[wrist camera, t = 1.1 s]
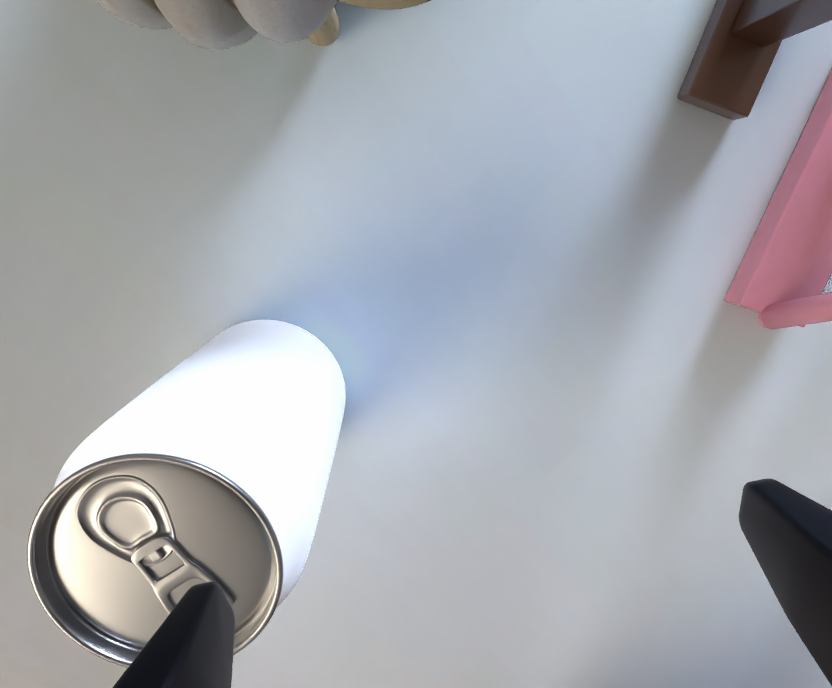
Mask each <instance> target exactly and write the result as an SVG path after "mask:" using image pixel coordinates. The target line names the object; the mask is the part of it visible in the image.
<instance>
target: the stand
mask: <svg viewBox="0 0 832 688" xmlns="http://www.w3.org/2000/svg"><path fill="white" fill-rule="evenodd" d="M830 20H832V0H717V2H716V4H715V7H714V9H713V12H712V14H711V16H710V19H709V21H708V24H707V26H706V29H705V31H704V33H703V36H702V38H701V41H700V43H699V46H698V48H697V50H696V53H695V55H694V58H693V60H692V62H691V65H690V67H689V70H688V72H687V75H686V77H685V79H684V82H683V84H682V87H681V89H680V92H679V94H678V97H677V98H678V99H679V100H682V101H685V102H687V103H690V104H693V105H695V106H698V107H700V108H703V109H706V110H708V111H711V112H713V113H716V114H719V115H721V116H724V117H727V118H729V119H732V120H735V119H740V118H745V117H747V116H748V115H749V113H750V111H751V109H752V107H753V104H754V102H755V100H756V98H757V95H758V93H759V91H760V89H761V86H762V84H763V82H764V80H765V77H766V75H767V73H768V71H769V68H770V66H771V64H772V62H773V59H774V57H775V55H776V53H777V50H778V48H779V46H780V44H781V41H782V40H783V39H785V38H788V37H790V36H793V35H795V34H798V33H800V32H803V31H805V30H808V29H810V28H813V27H815V26H818V25H820V24H823V23H825V22H828V21H830Z"/></svg>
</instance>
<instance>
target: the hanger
mask: <svg viewBox="0 0 832 688" xmlns="http://www.w3.org/2000/svg"><path fill="white" fill-rule="evenodd" d="M831 274H832V71H831V73H830V75H829V77H828V79H827V81H826V83H825V85H824V88H823V90H822V92H821V94H820V96H819V98H818V100H817V102H816V105H815V107H814V109H813V111H812V113H811V115H810V117H809V119H808V122H807V124H806V126H805V128H804V130H803V132H802V134H801V136H800V139H799V141H798V143H797V145H796V147H795V149H794V151H793V154H792V156H791V158H790V160H789V162H788V164H787V166H786V168H785V171H784V173H783V175H782V177H781V179H780V181H779V183H778V185H777V188H776V190H775V192H774V194H773V196H772V198H771V200H770V202H769V205H768V207H767V209H766V211H765V213H764V215H763V217H762V219H761V222H760V224H759V226H758V228H757V230H756V232H755V234H754V236H753V239H752V241H751V243H750V245H749V247H748V249H747V251H746V254H745V256H744V258H743V260H742V262H741V264H740V266H739V268H738V271H737V273H736V275H735V277H734V279H733V281H732V283H731V285H730V288H729V290H728V292H727V294H726V296H725V298H724V300H725V301H727V302H730V303H733V304H736V305H739V306H742V307H744V308H747V309H750V310H753V311H756V312H759V314H758V321H759V323H760V324H761V325H762V326H763V327H765V328H767V329H779V328H786V327H792V326H800V327H804V326H805V325H806V324H813V323H820V322H827V321H832V292H830V293H825V294H821V293H822V292H823V290H824V288H825V286H826V284H827V282H828V280H829V278H830V276H831Z"/></svg>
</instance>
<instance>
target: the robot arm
mask: <svg viewBox="0 0 832 688" xmlns="http://www.w3.org/2000/svg"><path fill="white" fill-rule="evenodd" d="M739 522H740V526H741V529H742V531H743V533H744V535H745V537H746V539H747V541H748V543H749V545H750V546H751V548H752V550H753V552H754V554H755V556H756V558H757V560H758V562H759V564H760V566H761V568H762V570H763V572H764V574H765V575H766V577H767V579H768V581H769V583H770V585H771V587H772V589H773V591H774V593H775V595H776V597H777V599H778V601H779V603H780V604H781V606H782V608H783V610H784V612H785V613H786V615H787V617H788V619H789V620H790V622H791V624H792V625H793V627H794V628H795V630H796V632H797V633H798V635H799V636H800V638H801V639H802V641H803V642H804V644H805V646H806V647H807V649H808V650H809V652H810V653H811V655H812V656H813V658H814V659H815V661H816V662H817V664H818V666H819V667H820V669H821V670H822V672H823V673H824V675H825V676H826V678H827V679H828V681H829V682H830V684H831V685H832V511H831V510H829V509H828V508H826V507H824V506H822V505H820V504H818V503H817V502H815V501H813V500H811V499H809V498H807V497H806V496H804V495H802V494H800V493H798V492H796V491H795V490H793V489H791V488H789V487H787V486H785V485H784V484H782V483H780V482H778V481H776V480H773V479H762V480H757V481H751V482H748V483H746V485H745V486H744V488H743V494H742V500H741V506H740V512H739ZM234 632H235V616H234V612H233V609H232V607H231V605H230V603H229V601H228V600H227V598H226V596H225V594H224V592H223V591H222V589H221V587H220V585H219V584H218V583H216V582H207V583H202V584H196V585H193V586H192V587H191V588H189V589H188V591H187V592H186V593H185V594H184V596H183V597H182V598H181V600H180V601H179V602H178V603H177V605H176V606H175V607H174V609H173V610H172V611H171V613H170V614H169V615H168V616H167V618H166V619H165V620H164V622H163V623H162V624H161V625H160V627H159V628H158V629H157V631H156V632H155V633H154V635H153V636H152V637H151V638H150V640H149V641H148V642H147V644H146V645H145V646H144V648H143V649H142V650H141V651H140V653H139V654H138V655H137V657H136V658H135V659H134V661H133V662H132V663H131V664H130V666H129V667H128V668H127V670H126V671H125V672H124V674H123V675H122V676H121V677H120V679H119V680H118V681H117V683H116V684H115V685H114V687H113V688H231V679H232V663H233V648H234Z"/></svg>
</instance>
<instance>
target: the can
mask: <svg viewBox="0 0 832 688" xmlns="http://www.w3.org/2000/svg"><path fill="white" fill-rule="evenodd" d="M345 402H346V390H345V383H344V378H343V375H342V372H341V369H340V367H339V365H338V363H337V361H336V359H335V358H334V356H333V355H332V353H331V352H330V351H329V349H328V348H327V347H326V346H325V345H324V344H323V343H322V342H321V341H320V340H319V339H318V338H316V337H315V336H314V335H312V334H311V333H309V332H308V331H306V330H304V329H302V328H300V327H298V326H295V325H293V324H290V323H286V322H282V321H276V320H252V321H246V322H242V323H238V324H236V325H234V326H232V327H229V328H228V329H226V330H224V331H223V332H221V333H220V334H218V335H217V336H216V337H214V338H213V339H212V340H210V341H209V342H207V343H206V344H205V345H204V346H202V347H201V348H200V349H198V350H197V351H196V352H194V353H193V354H192V355H190V356H189V357H188V358H187V359H185V360H184V361H183V362H181V363H180V364H179V365H177V366H176V367H175V368H174V369H172V370H171V371H170V372H168V373H167V374H166V375H165V376H163V377H162V378H161V379H159V380H158V381H157V382H156V383H154V384H153V385H152V386H150V387H149V388H148V389H147V390H145V391H144V392H143V393H141V394H140V395H139V396H138V397H136V398H135V399H134V400H133V401H131V402H130V403H129V404H127V405H126V406H125V407H124V408H122V409H121V410H120V411H119V412H117V413H116V414H115V415H114V416H112V417H111V418H110V419H109V420H107V421H106V422H105V423H104V424H102V425H101V426H100V427H99V428H98V429H96V430H95V431H94V432H93V433H92V434H91V435H89V436H88V437H87V438H86V439H85V440H84V441H83V442H82V443H81V444H80V445H79V446H78V447H77V449H76V450H75V451H74V452H73V453H72V454H71V456H70V457H69V458H68V460H67V461H66V462H65V464H64V466H63V467H62V469H61V471H60V473H59V475H58V477H57V480H56V482H55V485H54V487H53V490H52V492H51V493H50V494H49V495H48V496H47V498H46V499H45V500H44V502H43V503H42V505H41V506H40V508H39V510H38V512H37V514H36V516H35V518H34V520H33V523H32V526H31V529H30V533H29V538H28V546H27V561H28V570H29V575H30V579H31V582H32V585H33V588H34V591H35V593H36V595H37V597H38V599H39V601H40V603H41V605H42V606H43V608H44V610H45V611H46V613H47V614H48V615H49V617H50V618H51V619H52V621H53V622H54V623H55V624H56V625H57V626H58V627H59V628H60V629H61V630H62V631H63V632H64V633H65V634H66V635H67V636H68V637H69V638H71V639H72V640H73V641H74V642H76V643H77V644H78V645H80V646H81V647H83V648H84V649H86V650H87V651H89V652H91V653H93V654H95V655H96V656H98V657H101V658H103V659H105V660H107V661H110V662H112V663H115V664H118V665H121V666H124V667H129V666H130V664H131V663H132V662H133V661H134V659H135V658H136V657H137V655H138V654H139V653H140V651H141V650H142V649H143V648H144V646H145V645H146V644H147V642H148V641H149V640H150V638H151V637H152V636H153V635H154V633H155V632H156V631H157V629H158V628H159V627H160V625H161V624H162V623H163V622H164V620H165V619H166V618H167V616H168V615H169V614H170V613H171V611H172V610H173V609H174V607H175V606H176V605H177V603H178V602H179V601H180V600H181V598H182V597H183V596H184V594H185V593H186V592H187V591H188V589H189V588H191V587H192V586H193V585H196V584H202V583H207V582H216V583H218V584H219V585H220V587H221V589H222V591H223V592H224V594H225V596H226V598H227V600H228V601H229V603H230V605H231V607H232V609H233V612H234V616H235V632H234V648H233V655H234V654H236V653H238V652H239V651H240V650H242V649H243V648H245V647H246V646H247V645H248V644H250V643H251V642H252V641H253V640H254V639H255V638H256V637H257V636H258V635H259V634H260V633H261V631H262V630H263V629H264V628H265V626H266V625H267V623H268V622H269V620H270V619H271V617H272V615H273V613H274V611H275V609H276V607H277V606H278V605H279V604H280V603H281V602H282V601H283V600H284V599H285V598H286V597H287V595H288V594H289V593H290V592H291V590H292V589H293V587H294V586H295V584H296V583H297V581H298V579H299V577H300V575H301V573H302V571H303V568H304V566H305V564H306V561H307V558H308V555H309V552H310V548H311V545H312V541H313V538H314V534H315V530H316V526H317V522H318V519H319V515H320V511H321V507H322V503H323V499H324V495H325V491H326V487H327V482H328V478H329V474H330V470H331V466H332V462H333V458H334V454H335V450H336V445H337V441H338V437H339V433H340V429H341V424H342V420H343V415H344V410H345Z"/></svg>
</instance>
